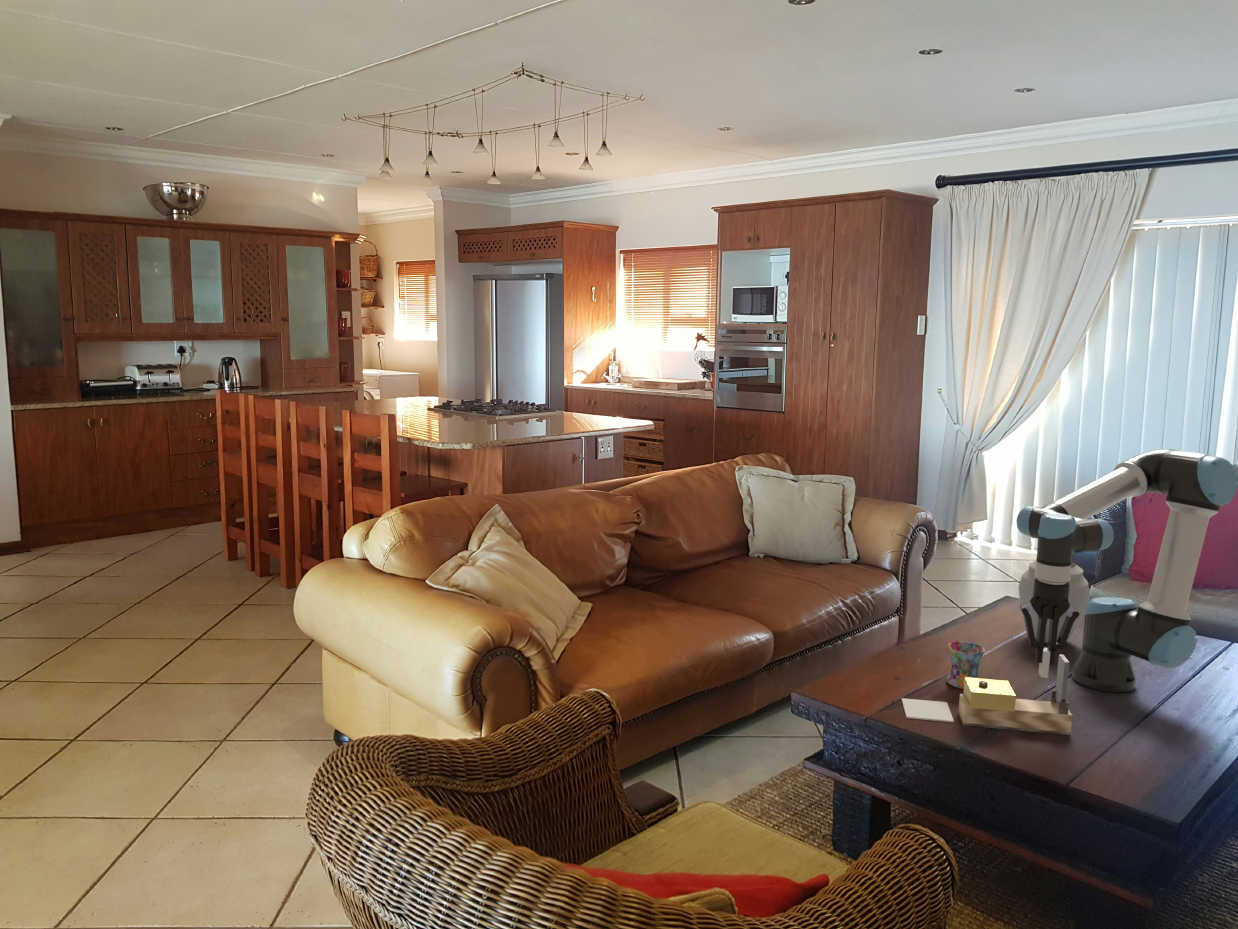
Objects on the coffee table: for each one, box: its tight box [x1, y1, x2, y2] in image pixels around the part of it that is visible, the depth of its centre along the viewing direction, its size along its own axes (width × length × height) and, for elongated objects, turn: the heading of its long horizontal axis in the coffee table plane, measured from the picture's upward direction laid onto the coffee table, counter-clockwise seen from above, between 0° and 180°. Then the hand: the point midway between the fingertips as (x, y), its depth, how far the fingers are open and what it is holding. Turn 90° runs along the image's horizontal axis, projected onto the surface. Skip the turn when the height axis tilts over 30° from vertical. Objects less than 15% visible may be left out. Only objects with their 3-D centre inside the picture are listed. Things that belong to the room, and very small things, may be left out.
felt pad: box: [901, 697, 955, 723], centre depth 227 cm, size 11×11×1 cm
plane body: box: [957, 689, 1073, 736], centre depth 220 cm, size 24×7×8 cm, turn 79°
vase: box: [1018, 560, 1091, 645], centre depth 276 cm, size 20×20×24 cm
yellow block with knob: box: [962, 677, 1017, 712], centre depth 221 cm, size 10×9×5 cm
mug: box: [946, 640, 986, 690], centre depth 243 cm, size 12×9×11 cm
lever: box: [1054, 654, 1070, 705], centre depth 217 cm, size 1×5×12 cm, turn 169°
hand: (1043, 675), depth 218 cm, fingers closed
